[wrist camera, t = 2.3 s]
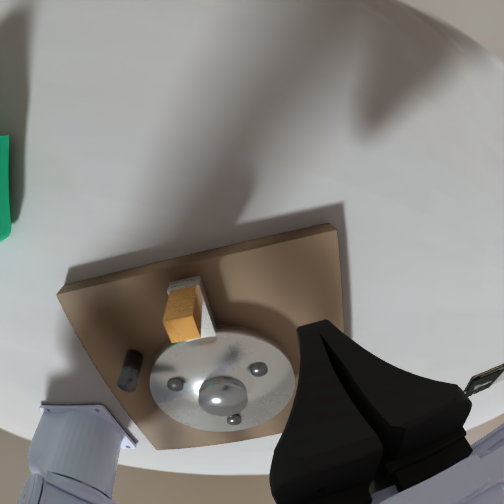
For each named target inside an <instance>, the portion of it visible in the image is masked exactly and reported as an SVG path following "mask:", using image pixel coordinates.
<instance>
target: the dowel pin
mask: <svg viewBox="0 0 504 504" xmlns="http://www.w3.org/2000/svg"><path fill="white" fill-rule="evenodd" d="M142 362H143V355H142V354H141V353H140V352H139V351H137V350H133V349H132V350H128V351H127V352H126V355H125V358H124V361H123V364H122V368H121V371H120V374H119V377H118V381H117V386H118V387H119V388H120V389H121V390H123V391H125V392H134V391H135V390H136V387H137V383H138V378H139V374H140V370H141V366H142Z"/></svg>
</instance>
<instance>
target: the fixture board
mask: <svg viewBox="0 0 504 504" xmlns="http://www.w3.org/2000/svg"><path fill="white" fill-rule="evenodd" d="M199 275H200V277H201V280H202V283H203V287H204V290H205V293H206V296H207V299H208V302H209V306H210V309H211V312H212V315H213V318H214V321H215V324H216V326H218V325H227V326H237V327H244V328H247V329H251V330H254V331H257V332H260V333H262V334H264V335H266V336H268V337H270V338H271V339H273V340H274V341H275V342H277V343H278V344H279V345H280V346H281V347H282V348H283V349H284V351H285V352H286V353H287V355H288V357H289V359H290V362H291V365H292V369H293V372H294V376H295V389H294V392H293V395H292V397H291V399H290V401H289V402H288V404H287V405H286V406H285V407H284V408H283V409H282V410H281V411H280V412H279V413H278V414H277V415H276V416H274V417H272V418H271V419H269V420H268V421H266V422H264V423H262V424H259V425H257V426H254V427H251V428H247V429H243V430H237V431H227V432H215V431H206V430H201V429H196V428H193V427H190V426H187V425H184V424H182V423H180V422H178V421H176V420H174V419H173V418H171V417H170V416H168V415H167V414H166V413H165V412H164V411H163V410H162V409H161V408H160V407H159V406H158V405H157V403H156V402H155V400H154V398H153V396H152V394H151V391H150V375H151V370H152V366H153V362H154V359H155V357H156V355H157V354H158V352H159V351H160V349H161V348H162V347H163V346H164V345H165V344H166V343H167V342H169V341H170V338H169V336H168V334H167V331H166V329H165V327H164V324H163V318H164V314H165V310H166V305H167V301H168V297H169V296H168V293H167V290H168V286H169V282H173V281H177V280H182V279H186V278H191V277H195V276H199ZM56 295H57V298H58V300H59V302H60V304H61V306H62V308H63V310H64V312H65V314H66V316H67V318H68V319H69V321H70V323H71V325H72V327H73V329H74V331H75V332H76V334H77V336H78V338H79V340H80V341H81V343H82V345H83V347H84V348H85V350H86V352H87V353H88V355H89V357H90V358H91V360H92V362H93V363H94V365H95V366H96V368H97V370H98V371H99V373H100V374H101V376H102V377H103V379H104V381H105V382H106V384H107V385H108V387H109V388H110V389H111V391H112V392H113V394H114V395H115V397H116V398H117V400H118V401H119V402H120V404H121V405H122V407H123V408H124V409H125V411H126V412H127V413H128V415H129V416H130V417H131V419H132V420H133V421H134V423H135V424H136V425H137V427H138V428H139V429H140V430H141V432H142V433H143V434H144V435H145V437H146V438H147V439H148V440H149V441H150V443H151V444H152V445H153V446H154V447H155V449H156V450H167V449H180V448H191V447H201V446H209V445H217V444H224V443H231V442H237V441H243V440H249V439H254V438H260V437H265V436H269V435H274V434H279V433H283V431H284V429H285V426H286V423H287V421H288V418H289V415H290V413H291V409H292V406H293V402H294V398H295V394H296V390H297V385H298V378H299V369H300V351H299V344H298V338H297V331H296V329H297V328H298V327H299V326H302V325H306V324H310V323H314V322H317V321H321V320H325V319H327V320H329V321H330V322H331V323H332V324H333V325H335V326H336V327H337V328H338V329H339V330H340V331H342V332H343V333H344V321H343V301H342V285H341V272H340V259H339V248H338V238H337V230H336V229H335V228H334V227H333V226H332V225H331V224H330V223H327V224H322V225H318V226H313V227H309V228H304V229H300V230H295V231H291V232H287V233H282V234H278V235H273V236H269V237H265V238H260V239H256V240H251V241H247V242H243V243H238V244H234V245H230V246H225V247H221V248H217V249H213V250H208V251H204V252H200V253H195V254H191V255H187V256H183V257H178V258H174V259H170V260H166V261H162V262H157V263H153V264H149V265H145V266H141V267H136V268H132V269H128V270H124V271H120V272H116V273H112V274H108V275H103V276H99V277H95V278H91V279H87V280H83V281H79V282H75V283H71V284H67V285H64V286H63V287H62V288H61V290H60V291H59V292H58V293H57V294H56ZM132 349H133V350H137V351H139V352H140V353H141V354H142V355H143V362H142V366H141V370H140V374H139V378H138V383H137V387H136V390H135V391H134V392H125V391H123V390H121V389H120V388H119V387H118V386H117V381H118V377H119V374H120V371H121V368H122V364H123V361H124V358H125V355H126V352H127V351H128V350H132Z"/></svg>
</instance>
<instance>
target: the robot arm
mask: <svg viewBox="0 0 504 504" xmlns="http://www.w3.org/2000/svg"><path fill="white" fill-rule="evenodd" d="M296 331H297V338H298V344H299V351H300V369H299V378H298V385H297V390H296V394H295V398H294V402H293V406H292V409H291V413H290V415H289V418H288V421H287V423H286V426H285V429H284V431H283V433H282V435H281V438H280V440H279V442H278V444H277V446H276V448H275V450H274V455H273V459H272V464H271V469H270V487H271V492H272V496H273V498H274V500H275V502H276V503H277V504H504V490H503V488H504V423H503V424H501V425H500V426H499V427H498V428H496V429H495V430H493V431H492V432H490V433H489V434H487V435H486V436H484V437H483V438H481V439H480V440H478V441H477V442H475V443H474V444H472V445H469V443H468V442H467V440H466V439H465V436H466V431H465V430H464V428H463V425H464V423H465V421H466V419H467V417H468V415H469V413H470V410H471V407H472V402H471V401H470V400H469V398H468V397H467V395H466V394H465V393H464V392H463V390H462V389H461V388H460V387H459V386H458V385H456V384H450V383H445V382H440V381H435V380H431V379H428V378H424V377H421V376H418V375H415V374H412V373H410V372H407V371H404V370H402V369H399V368H397V367H395V366H393V365H391V364H389V363H387V362H385V361H383V360H381V359H380V358H378V357H376V356H375V355H373V354H372V353H370V352H368V351H367V350H365V349H364V348H362V347H361V346H360V345H358V344H357V343H356V342H354V341H353V340H352V339H350V338H349V337H348V336H346V335H345V334H344V333H343V332H342V331H340V330H339V329H338V328H337V327H336V326H335V325H333V324H332V323H331V322H330V321H329V320H327V319H325V320H321V321H317V322H314V323H310V324H306V325H302V326H299V327H298V328H297V329H296ZM39 409H40V411H41V412H42V413H43V415H42V417H41V420H40V422H39V424H38V427H37V429H36V432H35V434H34V437H33V439H32V442H31V444H30V447H29V450H28V464H29V468H30V470H31V472H32V475H29V476H28V478H27V479H26V481H25V484H24V486H23V489H22V491H21V494H20V498H19V501H18V504H117V503H116V502H114V501H112V493H113V487H114V481H115V475H116V469H117V463H118V458H119V452H120V449H135V448H136V444H135V443H134V442H133V441H132V439H131V438H130V437H129V436H128V435H127V434H126V432H125V431H124V430H123V429H122V428H121V426H120V425H119V424H118V423H117V421H116V420H115V419H114V418H113V416H112V415H111V414H110V412H109V411H108V410H107V409H106V407H105V406H103V405H71V406H54V405H40V407H39Z"/></svg>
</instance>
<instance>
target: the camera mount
mask: <svg viewBox="0 0 504 504" xmlns="http://www.w3.org/2000/svg"><path fill="white" fill-rule="evenodd" d="M9 139H10V135H5V136H0V242H1V241H3V240H4V239H6V238H7V237H8V236H9V235H10V233H11V218H10V203H9Z"/></svg>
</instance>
